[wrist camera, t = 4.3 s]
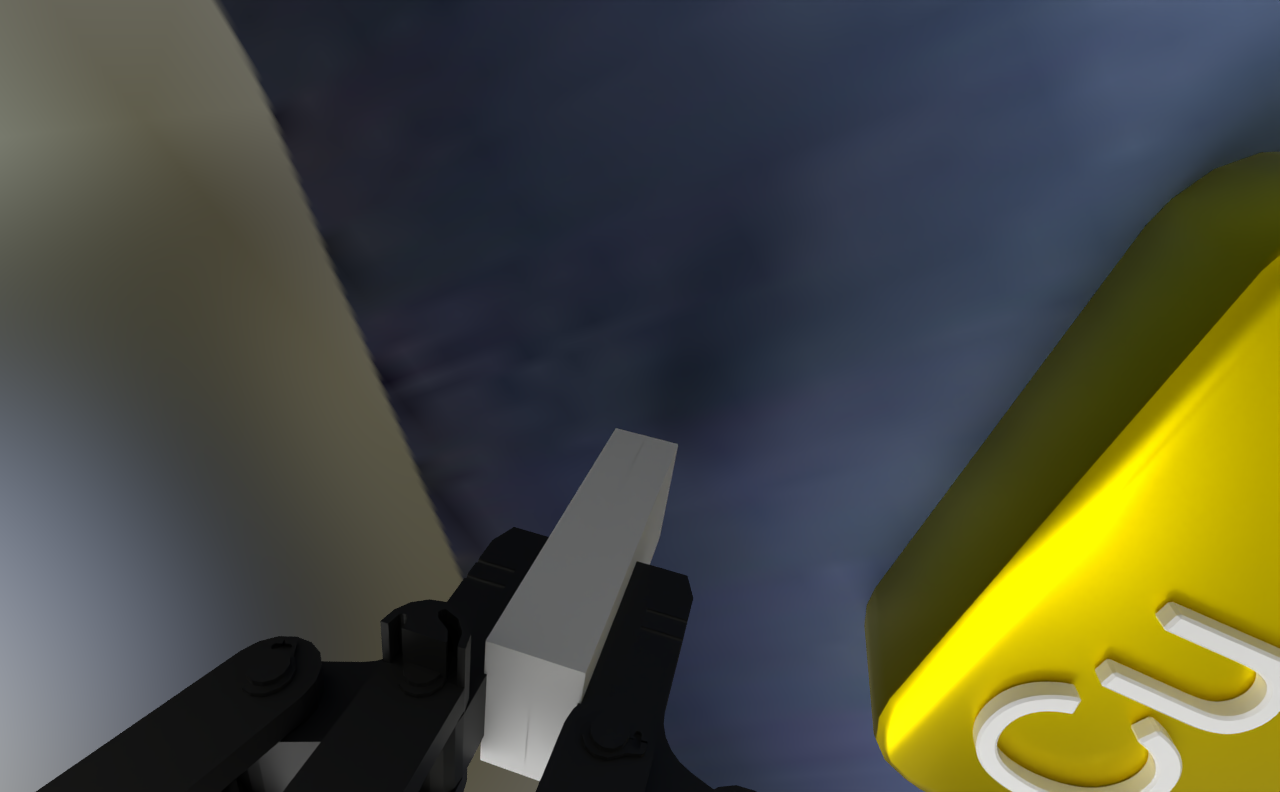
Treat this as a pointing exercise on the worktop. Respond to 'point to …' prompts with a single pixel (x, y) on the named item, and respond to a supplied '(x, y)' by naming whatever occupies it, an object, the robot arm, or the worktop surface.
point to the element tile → (1112, 539)
